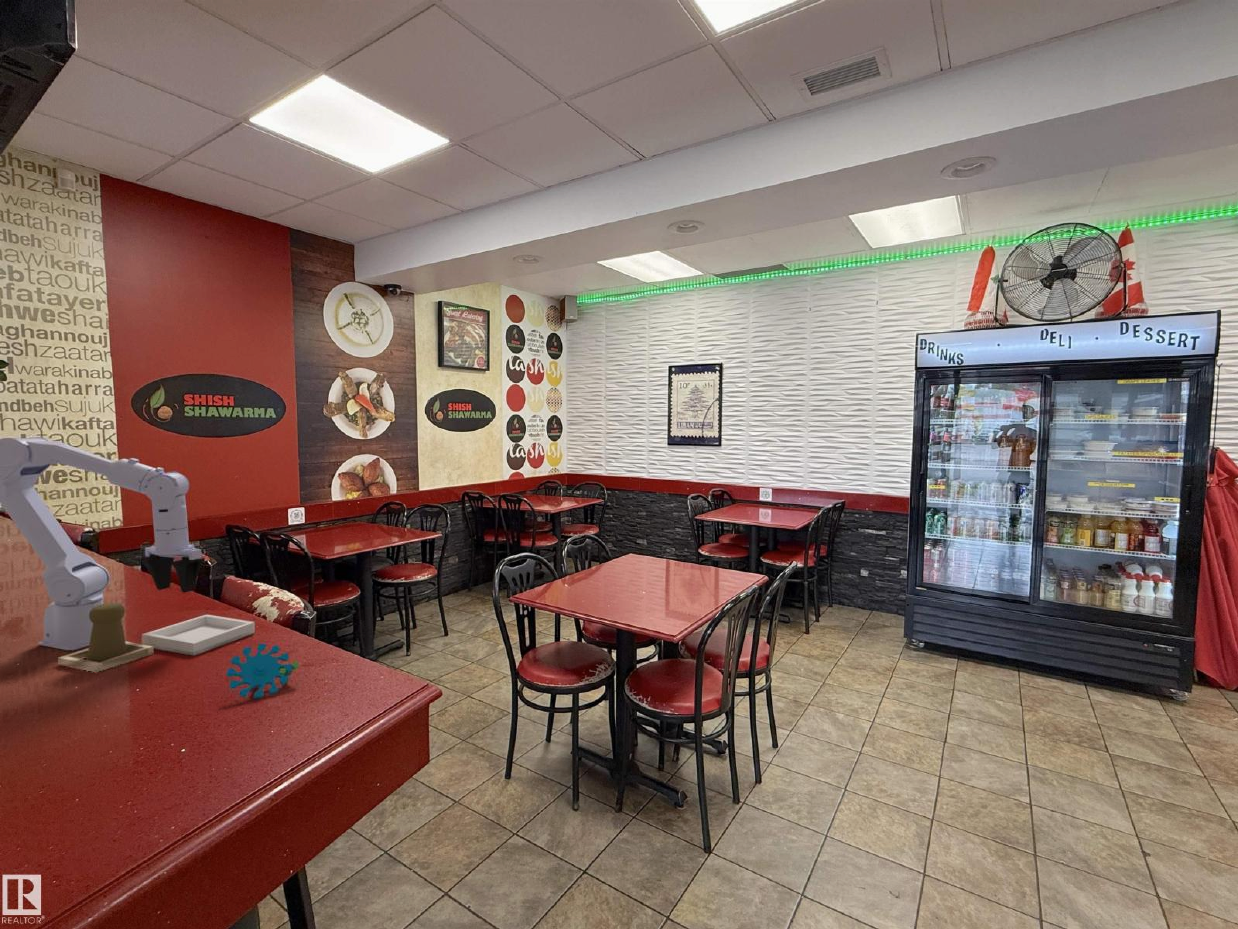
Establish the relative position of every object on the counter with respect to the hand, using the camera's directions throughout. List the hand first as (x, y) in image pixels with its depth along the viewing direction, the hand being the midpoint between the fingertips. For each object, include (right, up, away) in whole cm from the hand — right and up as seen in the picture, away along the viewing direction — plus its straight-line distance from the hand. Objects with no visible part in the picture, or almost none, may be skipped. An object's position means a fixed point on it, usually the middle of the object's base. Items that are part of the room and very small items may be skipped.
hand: (175, 590), depth 121 cm
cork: (-4, -11, -12) cm, 17 cm away
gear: (+32, -14, -21) cm, 41 cm away
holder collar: (-4, -11, -12) cm, 17 cm away
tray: (+5, -11, 0) cm, 12 cm away
